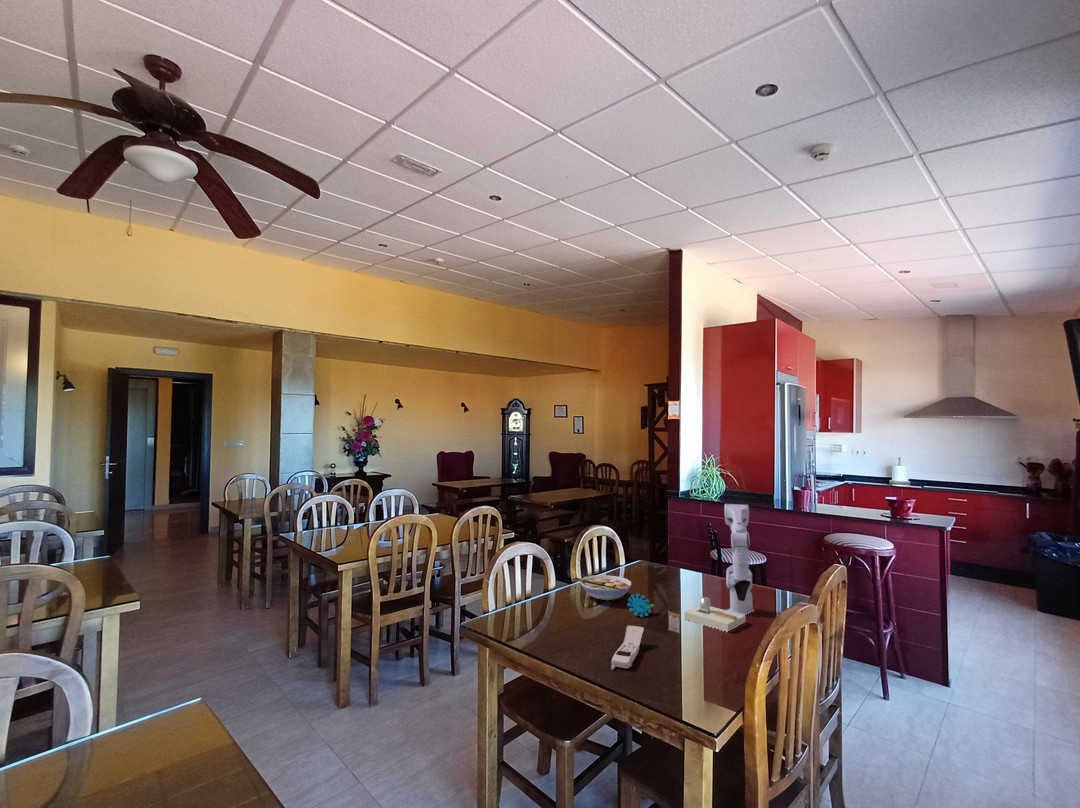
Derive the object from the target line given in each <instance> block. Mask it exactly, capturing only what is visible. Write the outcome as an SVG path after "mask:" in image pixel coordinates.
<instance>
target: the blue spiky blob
mask: <svg viewBox="0 0 1080 808" xmlns="http://www.w3.org/2000/svg"><path fill="white" fill-rule="evenodd" d="M640 596H641V597H640ZM645 598H646V596H645V595H644V594H642V595H640V594H639V592H638V593H636V594H634V593H632V594H631V595H630V597H628V599H627V601H628V603H627V607H629V611H630V612H631V613H632V612H634V611H635V612H634V613H633V615H634V616H635V617H637V616H638V614H639V613H640V614H639V616H640V617H639V618H641V617H642V618H643V617H645V616H647V617H648V616H649V614H651V612H652V610H651V609H652V608H653V607H654V603H651V604H650V600H649V599H648V598H646V599H645ZM646 611H648V612H646Z"/></svg>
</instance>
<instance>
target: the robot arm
mask: <svg viewBox="0 0 1080 808" xmlns="http://www.w3.org/2000/svg"><path fill="white" fill-rule="evenodd" d="M749 507H750V506H749V504H739V503H738V504H735V503H725V504H724V509H723V510H724V522H725V524H726V525H727V526H728V527H729V528H730V531H731V534H730V542H731V551H732V565H730V566H729V567H727V568H726V571H725V574H726V575H725V576H726V577H725V578H726V579H725V580H726V582H725V583H726V588H727V589H729V608H727V609H725V610H726V611H730V612H734V613H738V614H741V615H746V616H748V615H750V614H752V613H754V612H755V611H756V610H755V609H753V603H754V602H753V594H752V592H751V590H752V589H753V572H752V571H751V570H750V565H749V560H750V559H749V549H750V545H751V544H750V543H751V542H750V534H749V532H748V531H747V529H748V528H747V526H748V525H749V519H750V508H749ZM753 611H754V612H753ZM751 612H752V613H751ZM749 613H750V614H749ZM747 614H748V615H747Z"/></svg>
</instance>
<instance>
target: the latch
mask: <svg viewBox="0 0 1080 808" xmlns="http://www.w3.org/2000/svg"><path fill="white" fill-rule="evenodd" d="M714 615H716V616H720V617H723V618H727V619H730V620H735V619H737V617H736V616H732V615H728V614H725V613H721V612H716V613H714Z"/></svg>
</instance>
